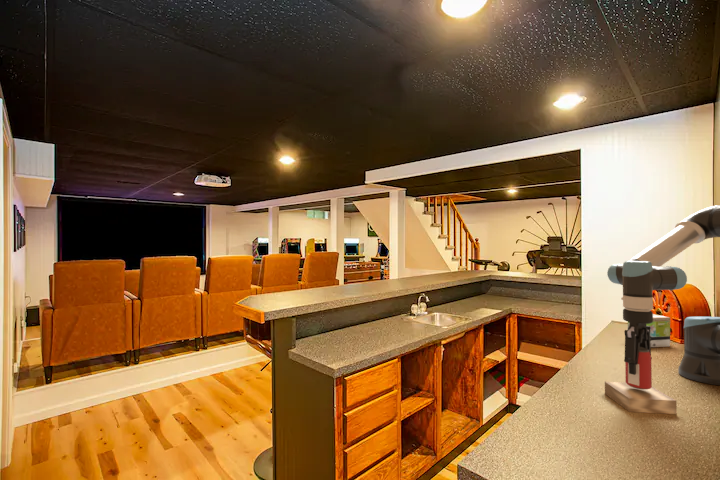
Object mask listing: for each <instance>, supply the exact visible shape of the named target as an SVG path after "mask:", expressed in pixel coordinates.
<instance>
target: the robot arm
mask: <svg viewBox="0 0 720 480" xmlns="http://www.w3.org/2000/svg"><path fill="white" fill-rule="evenodd" d="M713 238H720V205H712V206H709V207H706V208H703V209H700V210H698V211H695V212H694V213H692V214H690V215H689V216H686V217H685V218H683V219H682V220H680V221H679V222H678V223H676V224H675V227H674V229H672V230H671V231H670V232H667V234H665V235H664V236H662V237H661V238H659V239H657V240H656V241H654V243H652V244H650V245H649V246H647V247H646V248H645V249H643V250H642V251H640V252H638V253H636V255H634V256H632V258H630V259H628V260H625V261H624V262H623V263H613V264H612V265H610V266H609V268H608V270H607V275H606V276H607V277H608V280H609V281H610V282H611V283H613V284H617V285H621V286H622V297H621V300H622V307H623V309H622V320H624V322H625V321H626V322H627V323H628V322H629V323H630V324H629V327H628V326H627V329H628V330H627V329H625V330H624V360H623V361H624V363H625V362H627V363H628V383H630V384H634V385H638V386H639V364H638V356H639V348H640V347H643V348H646V349H648V350H649V352H650V355H651V360H652V351H651V348H652V347H651V344H650V326H646V324H650V323H652V322H653V314H654V312H653V311H652V310H653V309H654V305H653V304H654V300H653V299H654V297H653V291H675V290H680V289H682V288H684V287H685V286H686V284H687V282H688V277H687V274H686V272H685V271H684V270H683V269H682V268H680V267H677V266H672V265H671V266H668V265H667V266H663V265H665V264H666V263H668V262H669V261H670V260H672V259H674V258H675V257H676V256H677V255H680V254H681V253H682V252H684V251H685V250H686V249H688V248H689V247H691V246H692V245H693V244H699V243H701V242H704V241H705V240H708V239H713ZM683 322H684V323H683V342H684V343H683V345H684V347H683V348H684V349H683V350H684V354H683V357H682V359H681V361H680V364H679V365H678V374H679V375H680V376H682V377H684V378H686V379H688V380H691V381H695V382H700V383H703V384H708V385H715V386H720V316H700V315H699V316H697V315H696V316H687V317H686V318H685V319H684V321H683Z"/></svg>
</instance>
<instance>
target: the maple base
mask: <svg viewBox="0 0 720 480" xmlns="http://www.w3.org/2000/svg"><path fill="white" fill-rule="evenodd" d="M604 394H605V395H607V397H609V398H610V399H611V400H613V401H615V402H616V403H617V404H618V405H620V406H621V407H623V409H625V410H627V411H628V412H630V413H650V414H667V415H668V414H670V415H677V414H678V413H677V408H678V407H677V400H676V399H674V398H673V397H671V396H669V395H667V394H665V392H662V391H661V390H659V389H657V388H656V387H654V386H652V387H651V388H650V389H637V388H634V387H631V386H629V385H628V384H627V383H626V381H625V382H624V381H623V382H622V381H621V382H620V381H619V382H618V381H604Z"/></svg>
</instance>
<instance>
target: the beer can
mask: <svg viewBox="0 0 720 480" xmlns="http://www.w3.org/2000/svg"><path fill="white" fill-rule="evenodd" d="M651 357H652V354H651V355H650V352H649V350H648V349H646V348H643V347H640V348H639V356H638V364H639V386H638V385H634V384H630V383H628V363H627V362H624V363H625V365H624V366H625V367H624V368H625V383H627V384H628V385H629V386H631V387H634V388H637V389H650V388H651V387H653V386H652V385H653V384H652V383H653V382H652V381H653V380H652V359H651Z"/></svg>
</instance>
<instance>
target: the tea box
mask: <svg viewBox="0 0 720 480" xmlns="http://www.w3.org/2000/svg"><path fill="white" fill-rule="evenodd" d="M629 324H630V323H629V322H628V321H627V329H626V330H628V327H629ZM646 326H650V344H651V348H659V347H663V348H664V347H670V346H671V316H670V317H669V316H664V315H659V314H655V313H653V322H652V323H650V324H646Z"/></svg>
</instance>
